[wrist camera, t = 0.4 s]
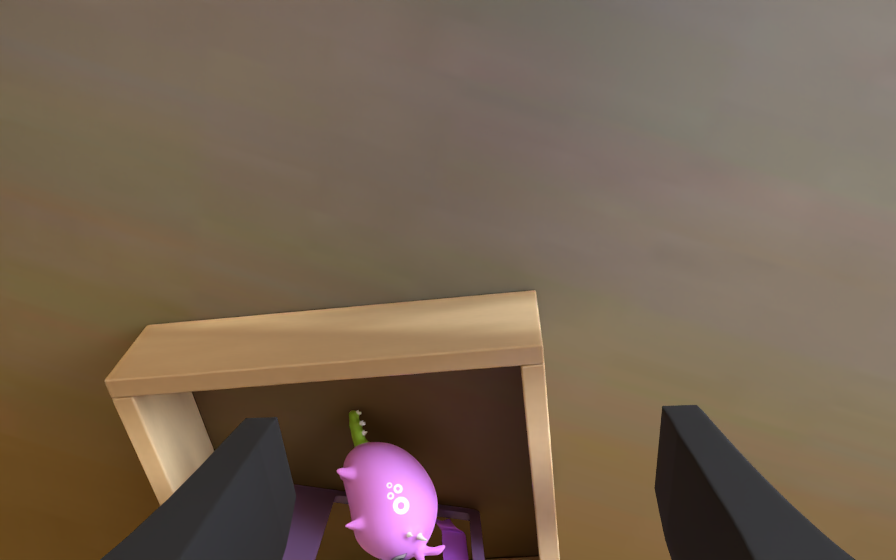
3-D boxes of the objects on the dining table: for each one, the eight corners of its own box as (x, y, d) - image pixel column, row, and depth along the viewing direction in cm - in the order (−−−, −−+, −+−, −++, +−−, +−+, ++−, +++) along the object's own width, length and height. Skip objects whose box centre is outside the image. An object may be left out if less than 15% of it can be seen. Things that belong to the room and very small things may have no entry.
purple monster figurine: (190, 614, 21) (485, 652, 21) (205, 452, 20) (513, 494, 20) (250, 505, 28) (474, 535, 28) (264, 379, 27) (495, 412, 27)
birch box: (558, 566, 29) (565, 637, 26) (249, 581, 30) (225, 651, 28) (535, 289, 23) (542, 344, 20) (146, 324, 24) (102, 380, 21)
